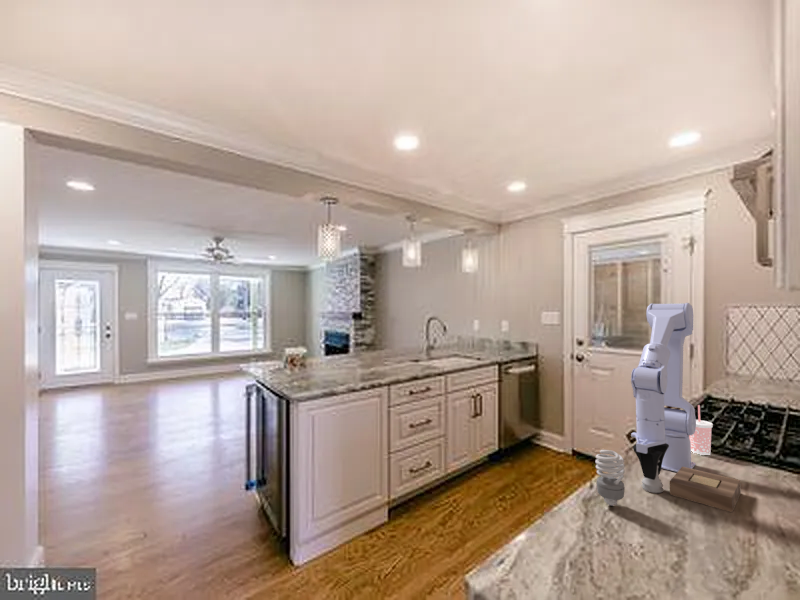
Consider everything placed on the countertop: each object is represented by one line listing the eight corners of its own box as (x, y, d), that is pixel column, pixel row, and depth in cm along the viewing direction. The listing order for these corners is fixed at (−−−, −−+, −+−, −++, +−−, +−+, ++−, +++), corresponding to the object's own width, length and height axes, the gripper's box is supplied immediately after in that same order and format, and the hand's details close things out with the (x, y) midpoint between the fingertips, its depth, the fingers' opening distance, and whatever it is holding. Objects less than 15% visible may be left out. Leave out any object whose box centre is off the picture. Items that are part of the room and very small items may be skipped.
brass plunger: (694, 478, 93) (694, 474, 93) (720, 485, 89) (720, 480, 89) (689, 485, 90) (689, 480, 90) (716, 492, 86) (716, 487, 86)
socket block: (682, 478, 98) (682, 466, 98) (740, 493, 89) (740, 480, 90) (669, 494, 89) (669, 481, 89) (732, 512, 81) (731, 497, 81)
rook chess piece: (667, 494, 89) (666, 459, 90) (645, 493, 90) (644, 458, 90) (658, 486, 94) (657, 452, 94) (638, 484, 95) (637, 451, 95)
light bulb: (590, 502, 86) (589, 448, 87) (608, 497, 88) (606, 444, 89) (613, 514, 81) (611, 456, 81) (631, 509, 83) (630, 452, 84)
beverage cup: (683, 448, 118) (681, 402, 118) (705, 449, 117) (703, 402, 117) (695, 456, 112) (693, 407, 112) (719, 457, 111) (717, 407, 111)
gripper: (640, 409, 100) (642, 462, 100) (621, 420, 90) (622, 479, 90) (673, 414, 95) (675, 470, 95) (656, 427, 85) (658, 489, 85)
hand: (651, 475), depth 92 cm, fingers closed on rook chess piece, 3 cm apart
